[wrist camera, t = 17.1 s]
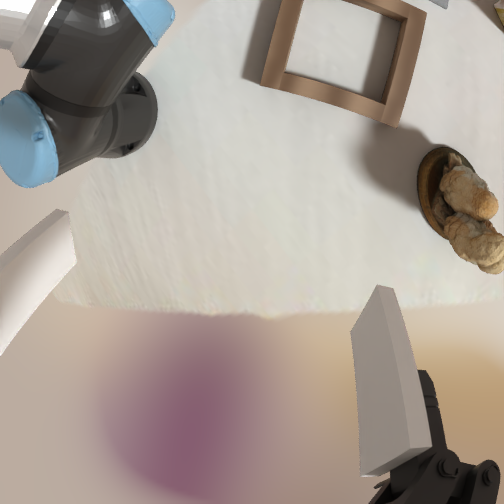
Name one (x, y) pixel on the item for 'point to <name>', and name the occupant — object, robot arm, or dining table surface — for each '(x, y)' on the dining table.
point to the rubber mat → (441, 3)
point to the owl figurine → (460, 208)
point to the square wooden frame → (386, 112)
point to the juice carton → (500, 10)
